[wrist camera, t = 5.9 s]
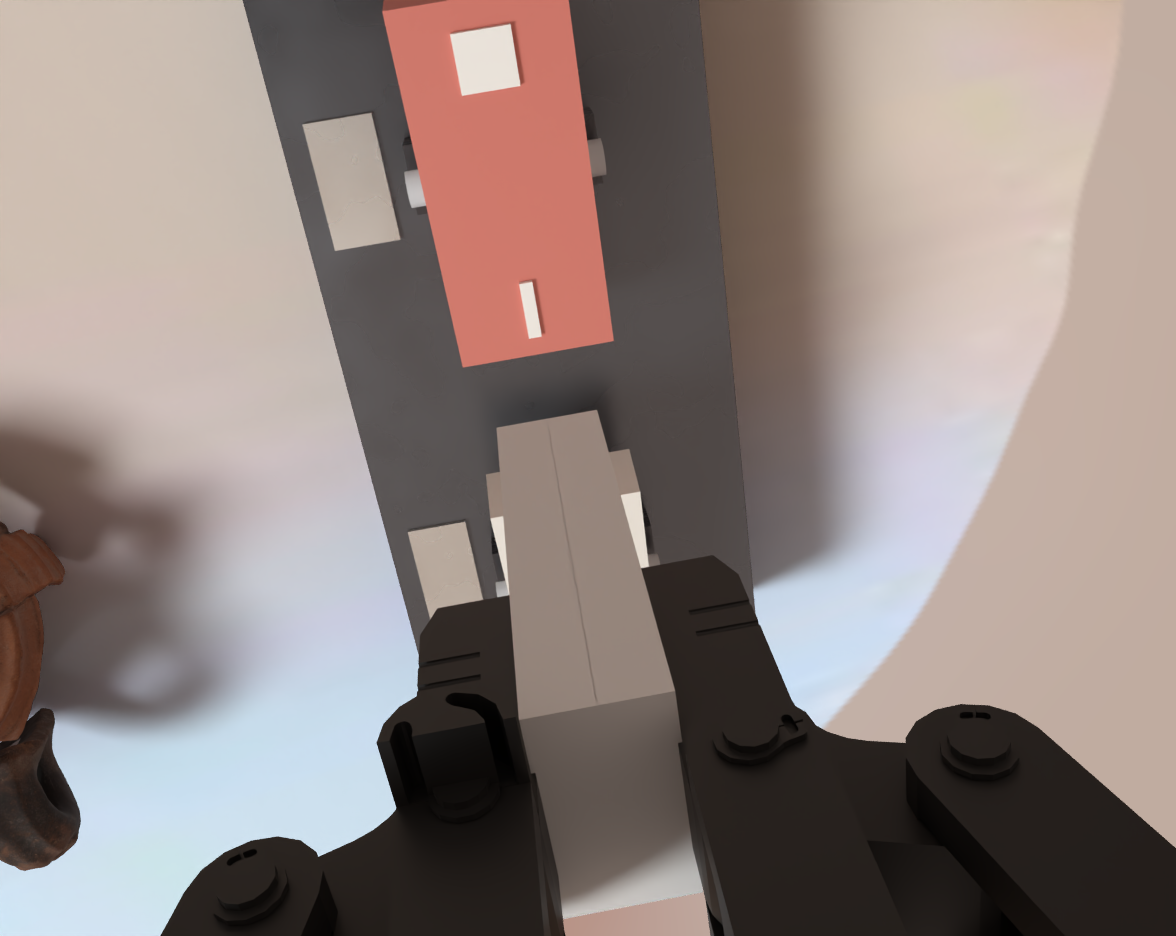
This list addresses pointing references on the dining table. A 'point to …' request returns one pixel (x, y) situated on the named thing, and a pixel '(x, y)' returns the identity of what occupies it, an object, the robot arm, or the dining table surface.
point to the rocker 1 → (504, 171)
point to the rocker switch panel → (533, 383)
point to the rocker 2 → (629, 498)
